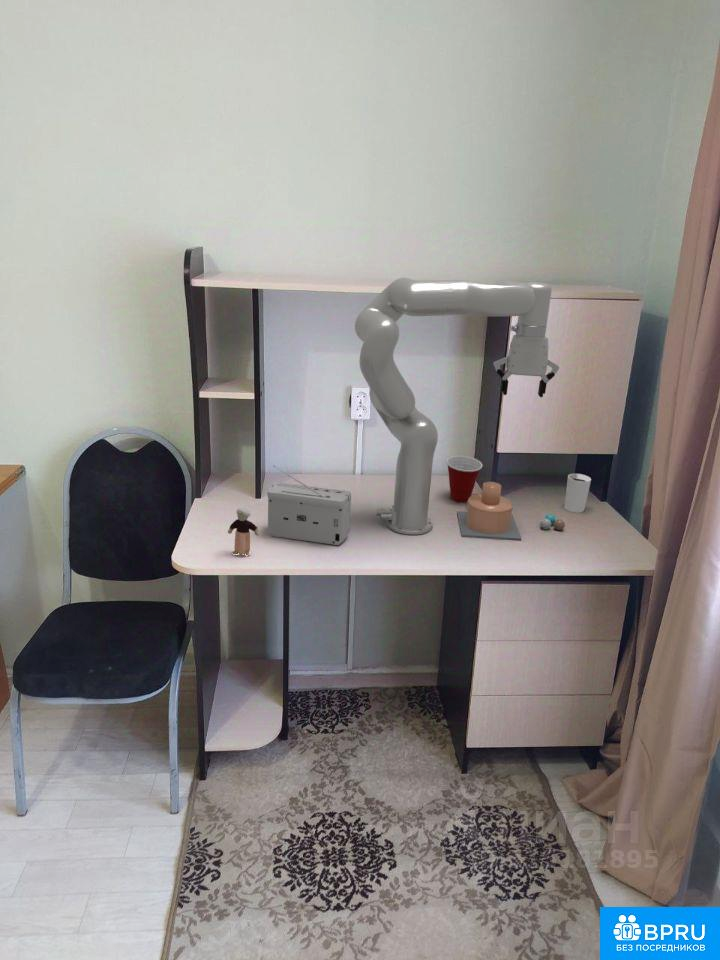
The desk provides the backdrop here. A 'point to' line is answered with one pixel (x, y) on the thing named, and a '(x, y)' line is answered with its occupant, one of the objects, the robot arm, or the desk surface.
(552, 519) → the teal marble
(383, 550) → the desk surface
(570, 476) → the white cylinder
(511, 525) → the slate mat
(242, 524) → the grandmother figurine
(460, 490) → the plastic cup
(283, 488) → the stereo radio cassette player
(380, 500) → the desk surface
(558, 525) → the dark brown marble
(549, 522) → the grey marble
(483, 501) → the terracotta cover
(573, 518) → the desk surface
